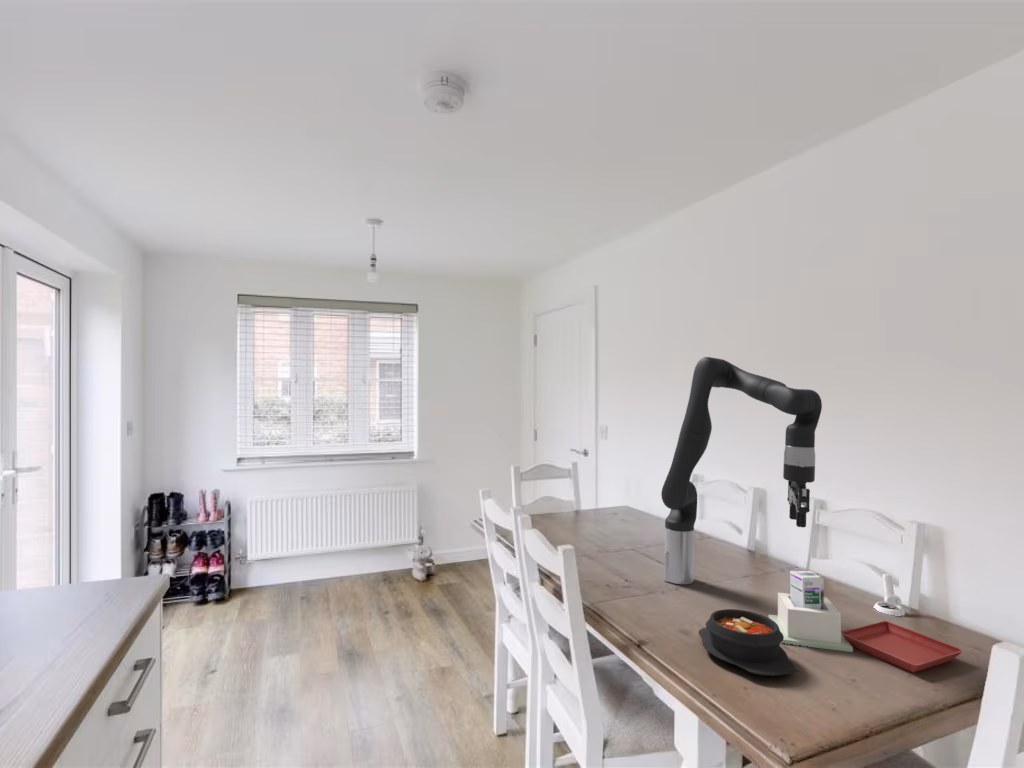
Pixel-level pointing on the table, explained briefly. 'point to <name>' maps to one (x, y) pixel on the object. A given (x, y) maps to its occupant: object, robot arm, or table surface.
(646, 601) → the table surface
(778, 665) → the casserole
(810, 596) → the syrup box
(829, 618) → the box
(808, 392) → the robot arm
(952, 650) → the plant saucer
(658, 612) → the table surface
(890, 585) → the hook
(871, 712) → the table surface
